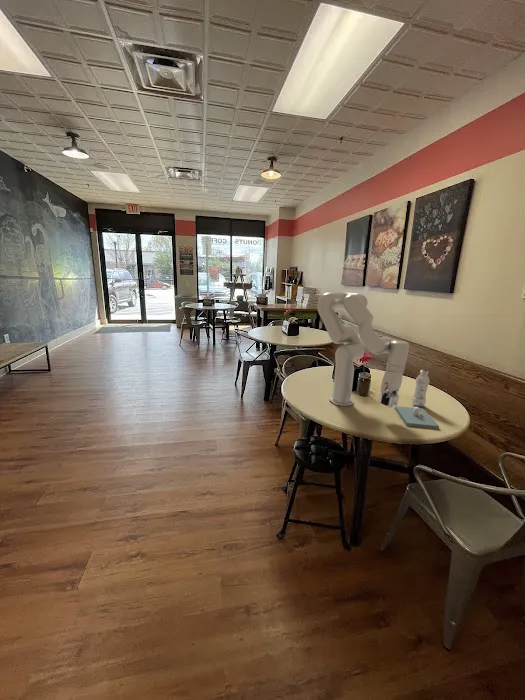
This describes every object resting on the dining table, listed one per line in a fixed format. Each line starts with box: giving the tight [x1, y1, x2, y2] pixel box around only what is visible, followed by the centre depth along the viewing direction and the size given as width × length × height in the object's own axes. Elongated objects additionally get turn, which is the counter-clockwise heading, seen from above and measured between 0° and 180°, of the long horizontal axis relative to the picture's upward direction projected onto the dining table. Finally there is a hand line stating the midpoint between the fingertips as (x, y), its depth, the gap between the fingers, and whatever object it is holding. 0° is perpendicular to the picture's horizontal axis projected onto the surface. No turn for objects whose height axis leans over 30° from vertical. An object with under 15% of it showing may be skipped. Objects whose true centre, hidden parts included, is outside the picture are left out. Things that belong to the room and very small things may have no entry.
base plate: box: [394, 405, 440, 430], centre depth 141 cm, size 18×14×6 cm
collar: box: [378, 392, 400, 409], centre depth 138 cm, size 6×6×5 cm
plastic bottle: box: [411, 368, 431, 408], centre depth 154 cm, size 6×7×20 cm
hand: (388, 402), depth 139 cm, fingers closed on collar, 6 cm apart
